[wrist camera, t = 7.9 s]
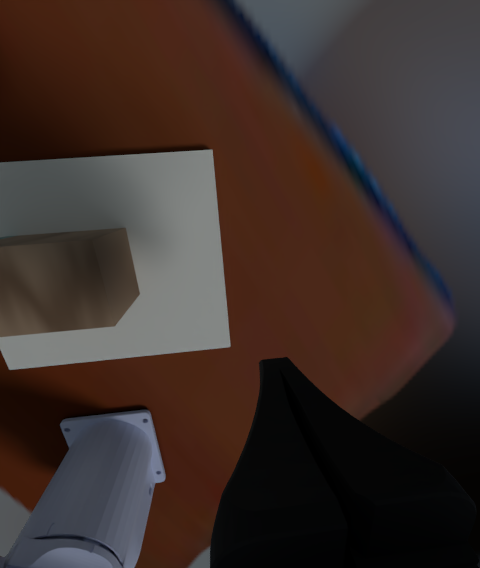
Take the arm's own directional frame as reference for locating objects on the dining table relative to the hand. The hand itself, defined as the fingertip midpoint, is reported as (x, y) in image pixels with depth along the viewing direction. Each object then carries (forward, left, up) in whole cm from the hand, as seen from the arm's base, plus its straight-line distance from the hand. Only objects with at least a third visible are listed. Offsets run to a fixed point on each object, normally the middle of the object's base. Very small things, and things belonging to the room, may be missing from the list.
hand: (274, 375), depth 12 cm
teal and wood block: (+4, +9, -6) cm, 11 cm away
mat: (+4, +11, -9) cm, 15 cm away
